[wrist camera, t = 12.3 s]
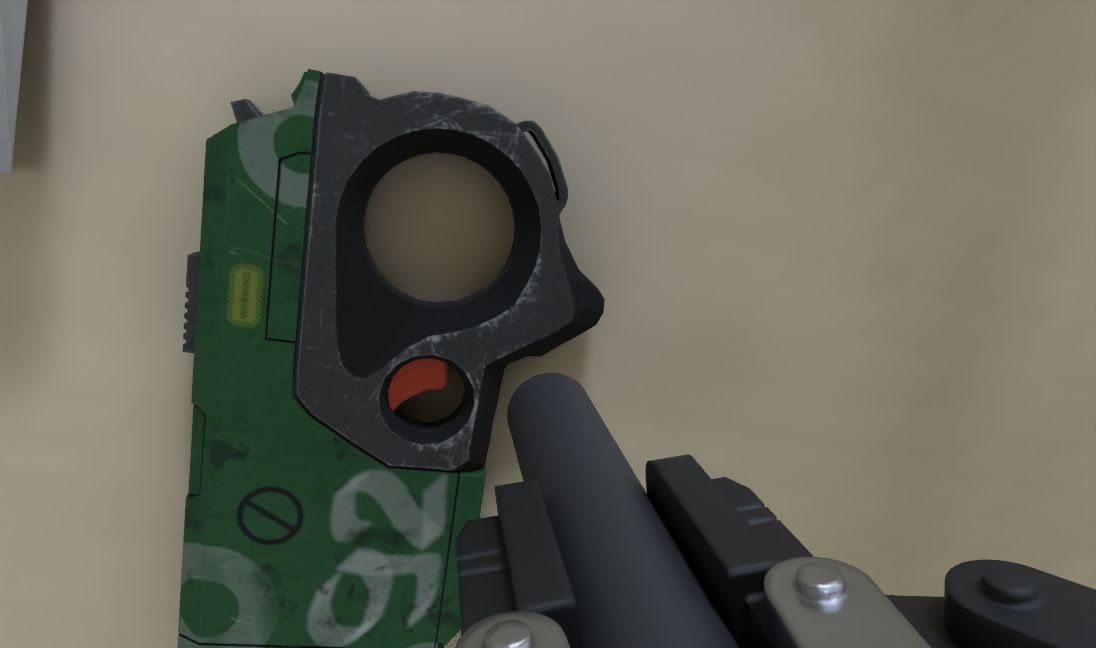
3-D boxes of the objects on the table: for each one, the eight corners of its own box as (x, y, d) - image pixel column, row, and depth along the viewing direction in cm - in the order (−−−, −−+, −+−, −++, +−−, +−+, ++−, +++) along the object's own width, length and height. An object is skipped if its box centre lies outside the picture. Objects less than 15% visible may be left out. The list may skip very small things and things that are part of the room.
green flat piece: (538, 714, 21) (157, 708, 19) (531, 678, 22) (176, 670, 20) (639, 125, 17) (191, 48, 15) (623, 128, 19) (211, 57, 17)
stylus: (498, 364, 18) (619, 774, 7) (578, 353, 18) (828, 729, 7) (507, 438, 19) (632, 938, 7) (584, 427, 19) (826, 891, 7)
